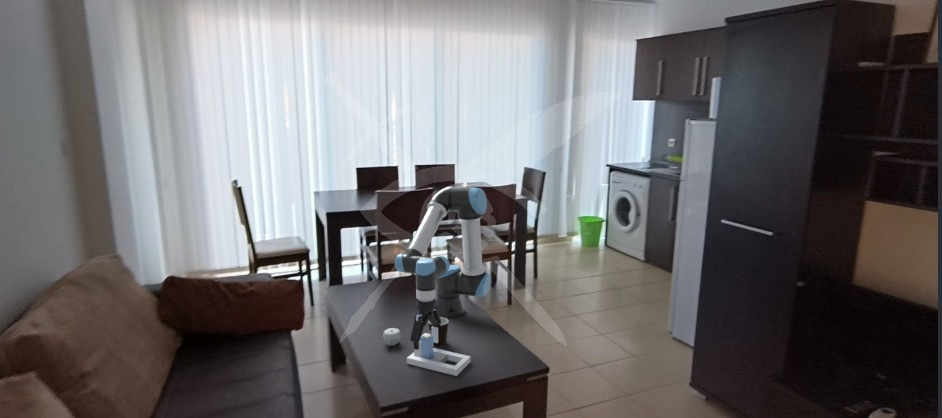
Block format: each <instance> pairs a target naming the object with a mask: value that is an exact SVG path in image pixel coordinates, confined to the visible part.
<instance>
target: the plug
mask: <svg viewBox="0 0 942 418" xmlns="http://www.w3.org/2000/svg"><path fill="white" fill-rule="evenodd" d="M420 341H421V357H420V358H424V359H429V360H430V359H431V358H433V357H434V355H433V348H434V346H433V336H432V335H431V334H430V333H428V332H425V333H422V335H421V338H420Z"/></svg>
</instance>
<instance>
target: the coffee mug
mask: <svg viewBox="0 0 942 418" xmlns="http://www.w3.org/2000/svg"><path fill="white" fill-rule="evenodd" d="M440 319H441V327H438V343H434V342H433V347H443V346H445V345H446V344H447V336H448V330H449V319H448V318H446V317H440ZM427 323H428V330H429V334H431V335H432V331H431V327H432V326H433V325H432V324H431V322H430V321H428V322H427ZM433 327H434V326H433Z"/></svg>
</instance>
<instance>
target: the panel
mask: <svg viewBox="0 0 942 418" xmlns="http://www.w3.org/2000/svg"><path fill="white" fill-rule="evenodd" d="M433 355H434V357H433V358H431V359H430V360H429V359H424V358H420V357H417V356H414V352H412V353H411V354H410V355H409V356H407V357H406V364H407V365H411V366H415V367H419V368H423V369H426V370H432V371H435V372H439V373H442V374H447V375H451V376H456V377H457V376H458V375H459V374H460V373H462V371H463V370H464V369H465V368H466V367H467V366H468V365H469V364H470V363H471V355H467V354H461V353H458V352H452V351H448V350H444V349H441V348H440V349H439V348H437V347H433ZM447 361H449V362H454V363H456V364H455V365H454V364H450V363H449V364H448V363H446V362H447Z"/></svg>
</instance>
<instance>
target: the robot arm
mask: <svg viewBox="0 0 942 418" xmlns="http://www.w3.org/2000/svg"><path fill="white" fill-rule="evenodd" d="M487 206H488V200H487V195H486V193H485V191H484V189H482V188H481V187H474V186H457V185H456V186H455V185H449V186H445V187H443V188H442V189H440V190H439V191H437V192H436V193H435V194H434V195H433V196H432V197H431V199H430V200H429V202H428V203H427V206H426V208H427V210H426V212H425V214H424V217H423V218H422V219H421V222H420V224H419V226H418V228H417V230H416V232H415V234H414V236H413V238H412V240H411V242H410V243H409V244H408V247H407V249H406V251H405V253H399V254H397V255H396V256H395V260H394V266H395V269H396V271H398V272H400V273H404V274H413V275H414V274H415V287H416V288H415V291H416V292H415V293H416V296H415V297H416V302H415V303H416V305H415V306H416V309H417V311H418V315H417V314H416V315H414V317H413V326H412V330H411V334H410V335H411V336H410V338H409V340H410V342H413V353H414V356H417V357H421V341H420V338H421V336H422V335H423V332H424V329H425V326H427V325H428V324H427V323H428V321H430V322H431V324H432V325H433V326H434V327H433V326H432V327H431V331H432V336H433V342H434V343H438V327H441V319H440V317H443V318H446V319H448V318H456V317H459V316H462V314H464V313H465V312H464V310H465V306H464V304H463V301H462V299H461V295H463V296H470V297H475V298H484V297H485V296H486V295H487V293H488V291H489V289H490V285H491V280H492V279H491V277H492V276H491V274H490V273H487V269H486V268H487V267H485V266H484V265H483V255H482V253H483V252H482V237H481V235H482V234H481V233H482V232H481V219H482V217H483V216H484V214H485V213H486V212H487V208H488V207H487ZM449 212H456V214H457V218H458V219H459V220H460V224H461V225H460V226H461V237H462V239H461V240H462V252H463V267H462V268H461V266H460V265H458V264H450V261H449V259H448V258H447V257H446V256H444V255H439V256H436V257H429V256H425V254H426V252H427V250H428V248H429V247H430V244H431V241H432V240H433V238H434V236H435V235H436V232H437V230H438V229H439V228H438V227H439V226H440V223H441V222H442V220H443V218H445V217H446V216H447V215H448V213H449Z"/></svg>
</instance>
